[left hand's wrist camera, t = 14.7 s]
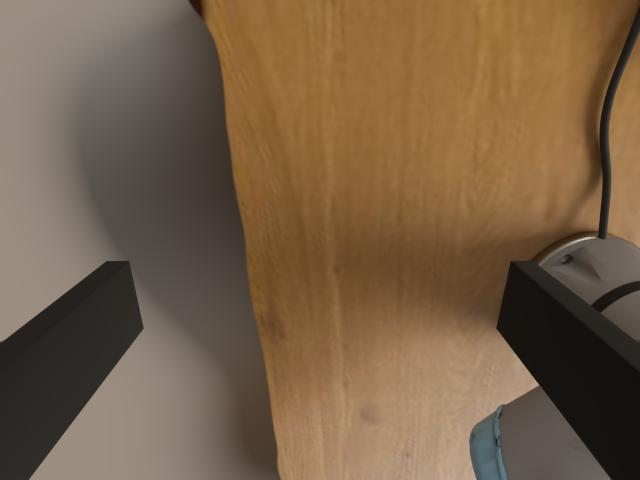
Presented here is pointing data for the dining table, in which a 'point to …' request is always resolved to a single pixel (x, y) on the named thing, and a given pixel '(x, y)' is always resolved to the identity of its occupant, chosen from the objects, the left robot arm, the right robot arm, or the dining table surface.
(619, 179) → the dining table surface
